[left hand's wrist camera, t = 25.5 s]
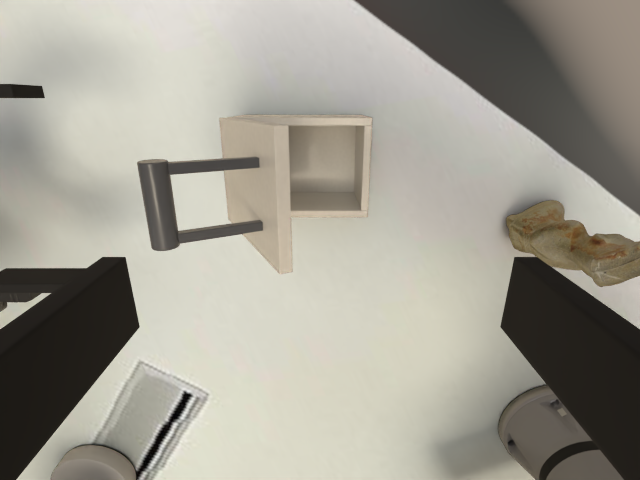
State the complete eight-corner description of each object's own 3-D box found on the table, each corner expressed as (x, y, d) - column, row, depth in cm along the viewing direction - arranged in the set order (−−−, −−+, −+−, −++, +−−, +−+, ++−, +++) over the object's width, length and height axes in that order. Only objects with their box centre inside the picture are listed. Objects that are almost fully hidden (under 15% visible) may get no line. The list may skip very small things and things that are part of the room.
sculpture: (558, 232, 48) (658, 286, 34) (503, 248, 49) (577, 308, 34) (554, 191, 46) (657, 229, 32) (496, 208, 47) (572, 253, 33)
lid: (288, 125, 22) (132, 129, 18) (292, 272, 25) (161, 299, 22) (229, 117, 34) (127, 119, 30) (237, 218, 37) (146, 230, 34)
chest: (361, 114, 43) (372, 117, 34) (358, 196, 46) (367, 217, 38) (244, 114, 43) (225, 117, 34) (249, 196, 46) (234, 217, 38)
